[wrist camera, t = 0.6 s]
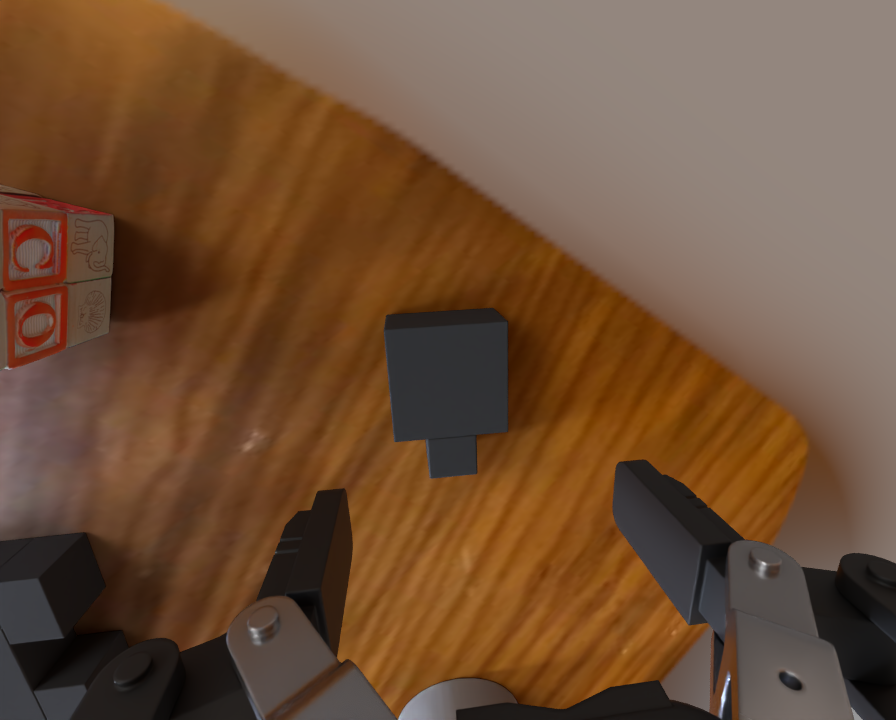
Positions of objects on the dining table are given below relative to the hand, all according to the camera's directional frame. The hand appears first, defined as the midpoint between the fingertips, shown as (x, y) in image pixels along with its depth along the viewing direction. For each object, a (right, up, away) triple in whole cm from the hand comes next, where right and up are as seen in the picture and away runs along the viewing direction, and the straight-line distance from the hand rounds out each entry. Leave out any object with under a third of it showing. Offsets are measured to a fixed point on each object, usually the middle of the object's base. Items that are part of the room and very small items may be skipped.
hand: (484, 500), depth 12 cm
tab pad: (-1, +3, +12) cm, 13 cm away
